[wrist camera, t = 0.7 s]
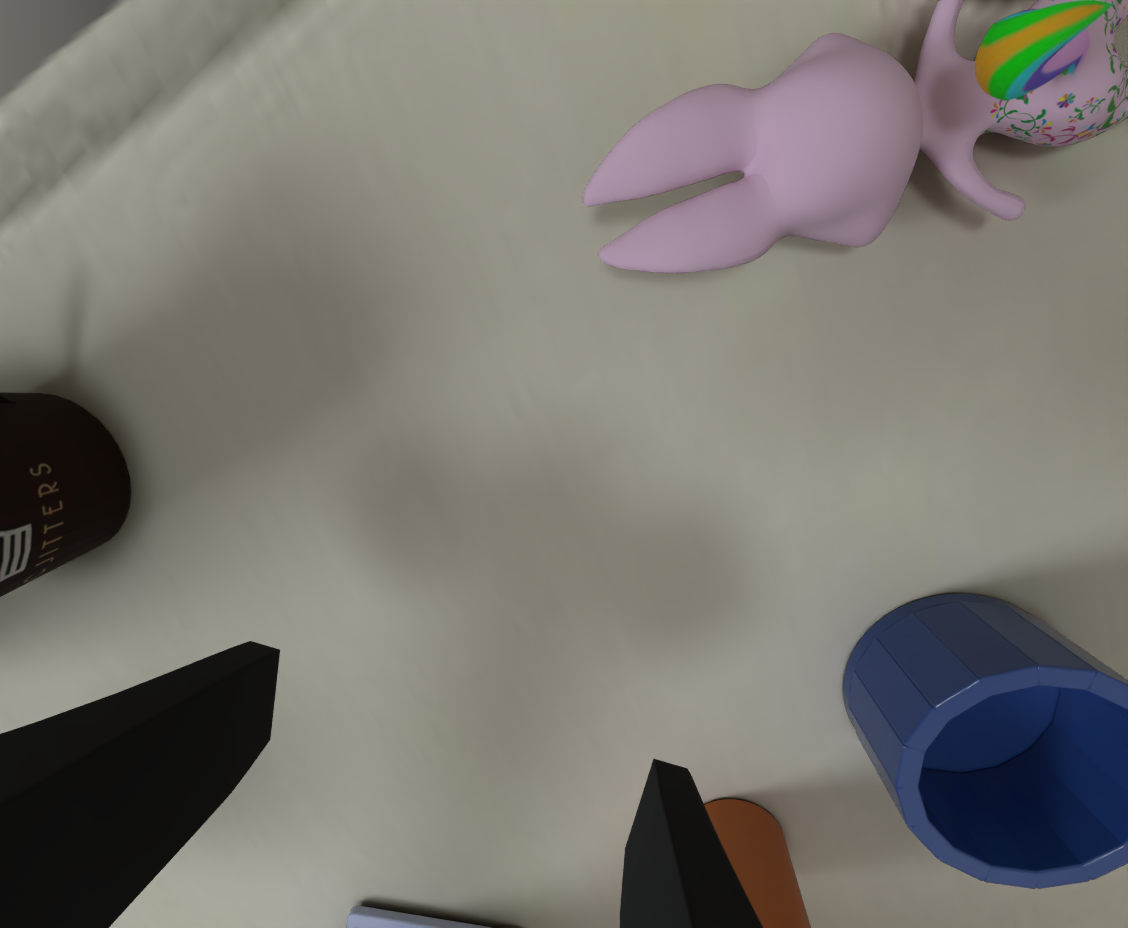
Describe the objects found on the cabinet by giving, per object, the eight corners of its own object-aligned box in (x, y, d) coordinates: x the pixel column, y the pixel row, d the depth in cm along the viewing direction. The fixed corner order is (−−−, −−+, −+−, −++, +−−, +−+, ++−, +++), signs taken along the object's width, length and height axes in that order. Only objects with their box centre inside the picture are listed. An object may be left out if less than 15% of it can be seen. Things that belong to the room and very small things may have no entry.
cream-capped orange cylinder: (778, 886, 21) (833, 1101, 15) (679, 871, 22) (695, 1075, 16) (789, 805, 20) (853, 999, 14) (686, 791, 21) (706, 974, 15)
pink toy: (1075, -44, 15) (554, 132, 15) (1417, -314, 9) (555, -16, 9) (1104, 190, 16) (617, 348, 16) (1429, 85, 10) (654, 336, 10)
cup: (1038, 784, 19) (1147, 905, 15) (829, 759, 20) (879, 868, 16) (1086, 602, 17) (1224, 682, 13) (857, 584, 18) (921, 655, 14)
